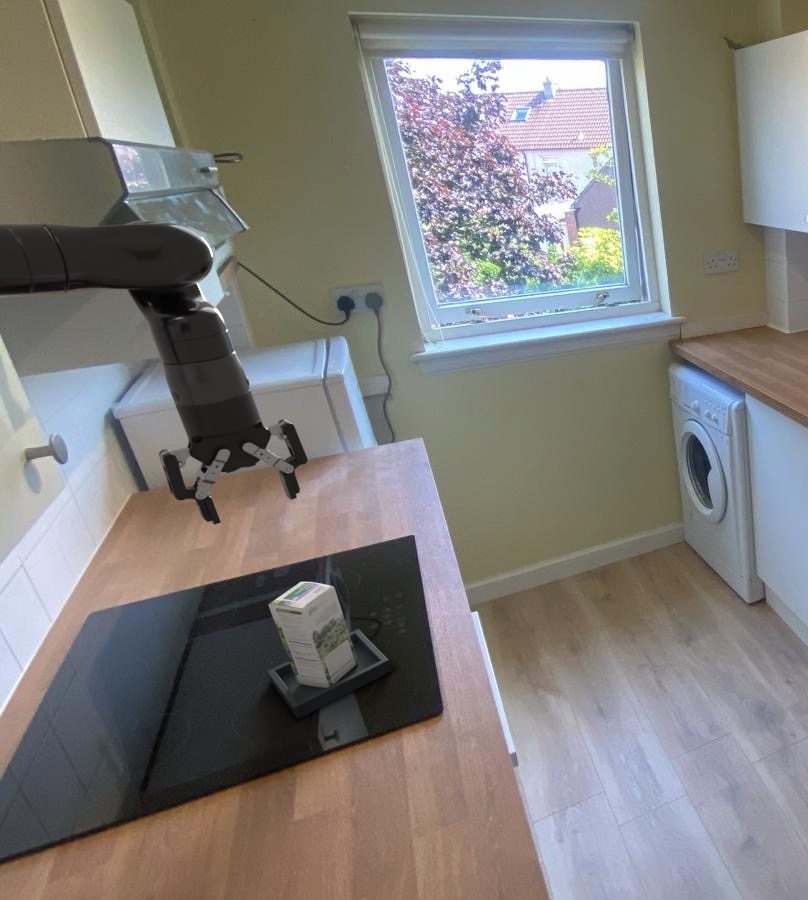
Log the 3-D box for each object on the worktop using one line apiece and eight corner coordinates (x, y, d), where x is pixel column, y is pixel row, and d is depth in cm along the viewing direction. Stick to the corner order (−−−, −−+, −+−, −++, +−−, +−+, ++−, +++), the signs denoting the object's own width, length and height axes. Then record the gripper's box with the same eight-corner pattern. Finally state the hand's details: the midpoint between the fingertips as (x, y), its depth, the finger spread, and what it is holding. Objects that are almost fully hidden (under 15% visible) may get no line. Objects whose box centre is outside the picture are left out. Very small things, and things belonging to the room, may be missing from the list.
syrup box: (328, 659, 112) (298, 579, 106) (361, 663, 110) (333, 583, 104) (297, 685, 107) (265, 603, 101) (331, 690, 105) (301, 607, 99)
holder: (298, 719, 101) (293, 707, 100) (271, 682, 108) (266, 671, 107) (392, 671, 110) (388, 659, 109) (361, 639, 117) (358, 628, 116)
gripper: (269, 372, 96) (305, 482, 103) (130, 401, 86) (180, 521, 93) (288, 383, 92) (325, 498, 98) (144, 415, 82) (195, 540, 88)
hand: (254, 509), depth 96 cm, fingers open, 8 cm apart
